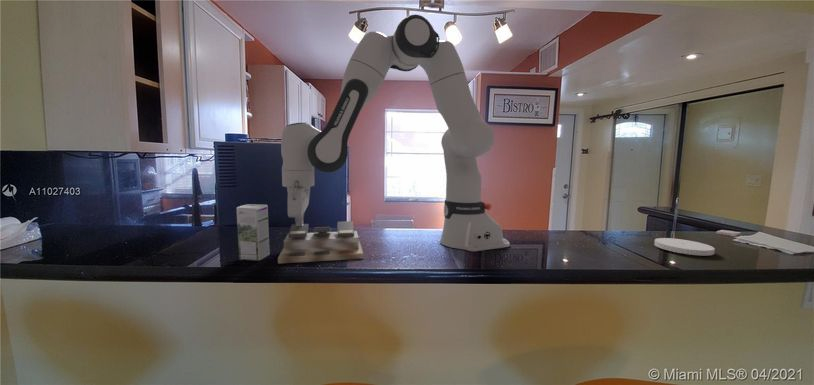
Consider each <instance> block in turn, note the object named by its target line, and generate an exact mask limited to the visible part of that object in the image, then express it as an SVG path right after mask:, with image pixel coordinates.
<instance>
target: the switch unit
mask: <svg viewBox="0 0 814 385" xmlns="http://www.w3.org/2000/svg"><path fill="white" fill-rule="evenodd" d="M361 244H362V243H361V241H360V240H359V235H358V231H357V230H354V236H352V237H338V231H328V232H307V237H299V238H289V233H287V235H286V236H285V238H284V240H283V248H282V250H281V251H280V254H279V256H277V264H293V263H295V264H297V263H309V262H325V261H326V262H327V261H328V262H329V261H342V260H343V261H345V260H346V261H347V260H358V259H359V260H360V259H364V251H363V248H362V245H361Z"/></svg>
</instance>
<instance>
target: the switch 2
mask: <svg viewBox="0 0 814 385" xmlns="http://www.w3.org/2000/svg"><path fill="white" fill-rule="evenodd" d="M336 227H337V232H338V237H352V236H354V231H355V230H354V221H353V220H352V221H351V220H349V221H348V220H347V221H345V220H344V221H337V226H336Z"/></svg>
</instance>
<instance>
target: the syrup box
mask: <svg viewBox="0 0 814 385" xmlns="http://www.w3.org/2000/svg"><path fill="white" fill-rule="evenodd" d="M236 226H237V241H238V242H237V243H238V258H239V261H255V262H258V261H261V260H263V259H265V258H267V257H268V256H270V254H271V253H270V252H271V251H270V237H269V235H270V232H269V229H270V228H269V207H268V204H256V203H255V204H254V203H253V204H252V203H251V204H250V203H249V204H247V203H246V204H243V205H240V206H237V207H236Z"/></svg>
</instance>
